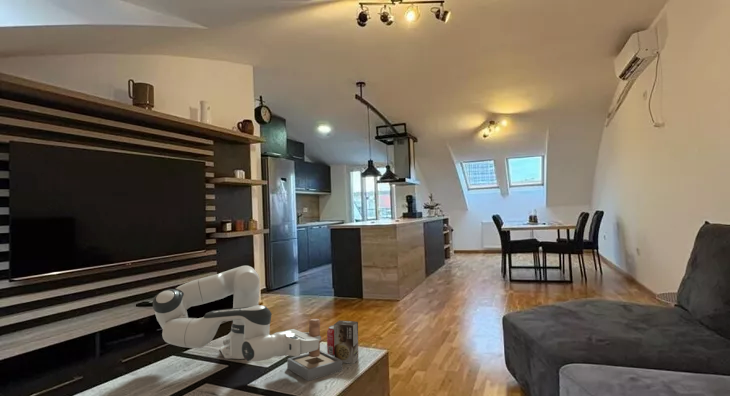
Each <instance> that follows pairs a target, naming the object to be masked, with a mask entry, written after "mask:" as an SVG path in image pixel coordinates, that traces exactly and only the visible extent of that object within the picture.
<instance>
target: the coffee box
mask: <svg viewBox="0 0 730 396" xmlns="http://www.w3.org/2000/svg"><path fill="white" fill-rule="evenodd" d="M333 325H334V357H336V358H338V359H340V360H342V364H343V363H344V364H351V365H352V364H353V365H354V364H355V363H356V362H357V361H358V360H359V322H358V321H354V320H353V321H352V320H337V322H336V321H335V323H334V324H333Z"/></svg>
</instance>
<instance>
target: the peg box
mask: <svg viewBox="0 0 730 396" xmlns="http://www.w3.org/2000/svg"><path fill="white" fill-rule="evenodd" d="M286 361H287V364H286V367H287V368H286V369H287V370H289V371H291V372H293V373H294V374H295V375H298V376H299V377H300V378H302V379H303V380H304V379H305V380H306V381H308V382H309V381H312V380H315V379H318V378H321V377H325V376H329V375H331V374H335V373H339V372H342V371H343V363H342V360H340V359H338V358H336V357H334V356H332V355H330V354H328V352H325V351H324V350H321V349H320V356H318V357H310V356H309V352H308V353H304V354H300V356H297V357H295V356H291V357H289V358H287V360H286Z"/></svg>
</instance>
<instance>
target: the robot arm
mask: <svg viewBox="0 0 730 396" xmlns="http://www.w3.org/2000/svg"><path fill="white" fill-rule="evenodd" d="M260 285H261V279H260V275H259V274H258V272H257V271H256V269H255V268H254V267H252V266H250V265H241V266H238V267H234V268H232V269H228V270H226V271H222V272H220V273H217V274H211V275H209V276H208V275H207V276H205V277H202V278H197V279H194V280H191V281H188V282H186V283H183V284H181V285H179V286H177V287H175V288H168V289H164V290H162V291H160V292H159V293H157V294H156V295H155V296H154V297H153V299H152V309H153V310H154V314H155V315H154V316H155V317H156V321H157V322H158V324H159V325H160V328H161V329H162V330H161V331H162V333H161V335H162V339H163V340H164V342H165V343H167V344H169V345H173V346H177V347H182V348H189V349H201V348H204V347H206V346H208V345H209V344H210V343H211V342H212V341H213V339H214V338H215V336H216V334H217V332H218V329H219V327H220V325H221V324H222V323H223V322H231V326H230V327H231V328H230V332H229V333H228V334H227V335H226V336H225V339H223V341H222V344H223V345H222V346H220V347H219V351H220V352H221V355H222V356H223V358H224V359H228V360H229V359H237V360H240V359H241V360H243V359H244V360H245V361H246V362H250V363H251V362H261V361H267V360H270V359H273V358H275V357H279V358H280V357H283V356H289V357H290V356H291V357H297V356H300V355H304V354H308V353H309V352H312V351H315V350H317V349H318V348H319V341H320V342H321V341H322V336H321V335H320V336H319V335H317V336H315V337H312V336H310V335H309V331H308V332H302V331H300V330H297V329H296V328H292V329H291V328H290V329H286V330H283V331H276V332H274V333H273V334H270V332H271V331H270V329H271V320H272V315H273V314H272V312H271V310H270V309H269V308H268V307H267V306H266V305H262V304H261V305H260V304H259V302H260V301H259V299H260V287H261V286H260ZM231 295H233V296H232V297H233V298H232V299H233V301H232V303H233V304H232V308H222V309H217V310H216V309H215V310H211V311H209V312H206V313H205V314H204V316H203V317H199V318H197V317H189V315H188V311H187V310H188V309H190V308H191V307H197V306H200V305H204V304H208V303H211V302H215V301H219V300H221V299H224V298H227V297H228V296H231Z"/></svg>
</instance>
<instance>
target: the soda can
mask: <svg viewBox="0 0 730 396" xmlns="http://www.w3.org/2000/svg"><path fill="white" fill-rule="evenodd" d="M326 351H327V352H326V353H327V354H330V355H332V356H334V324H333V325H332V324H331V325H329V326H328V329H327V331H326Z"/></svg>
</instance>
